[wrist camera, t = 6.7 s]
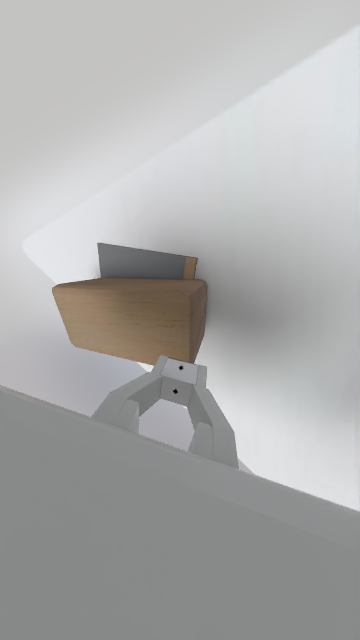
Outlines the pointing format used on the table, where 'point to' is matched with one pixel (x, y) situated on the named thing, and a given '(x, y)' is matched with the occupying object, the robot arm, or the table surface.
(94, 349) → the wooden block
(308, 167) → the table surface
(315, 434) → the table surface
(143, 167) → the table surface
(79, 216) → the table surface
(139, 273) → the mat
